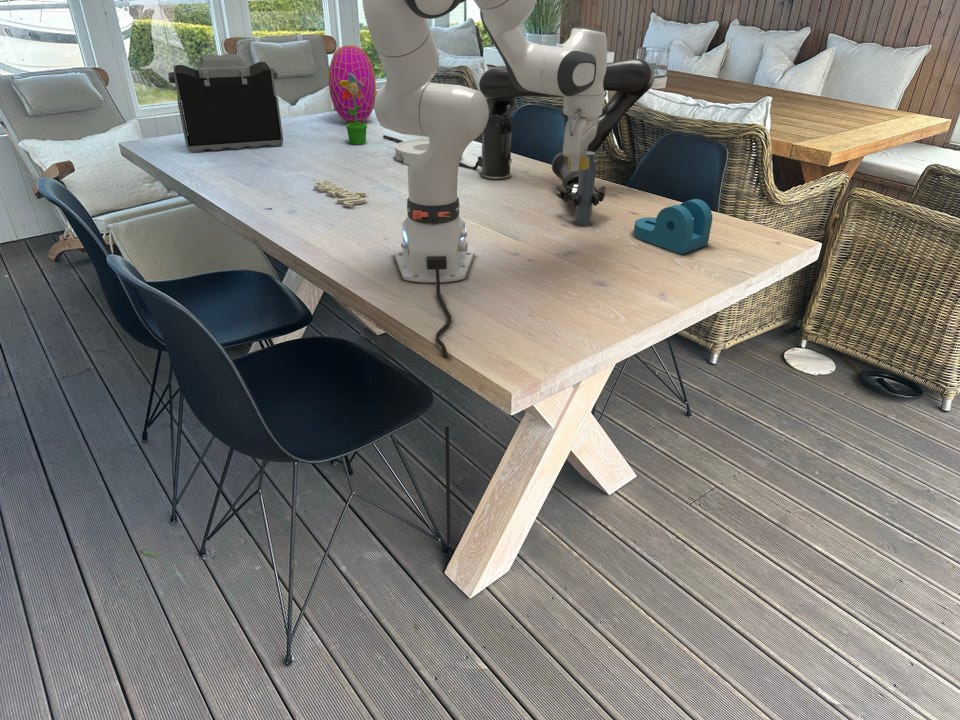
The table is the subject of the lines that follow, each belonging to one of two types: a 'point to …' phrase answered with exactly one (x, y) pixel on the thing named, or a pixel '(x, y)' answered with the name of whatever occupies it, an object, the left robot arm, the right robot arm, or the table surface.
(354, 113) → the potted flower
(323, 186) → the decorative sign
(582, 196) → the grey long cylinder
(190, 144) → the electronic device
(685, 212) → the camera mount
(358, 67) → the decorative egg
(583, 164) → the lid
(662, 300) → the table surface
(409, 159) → the ashtray
